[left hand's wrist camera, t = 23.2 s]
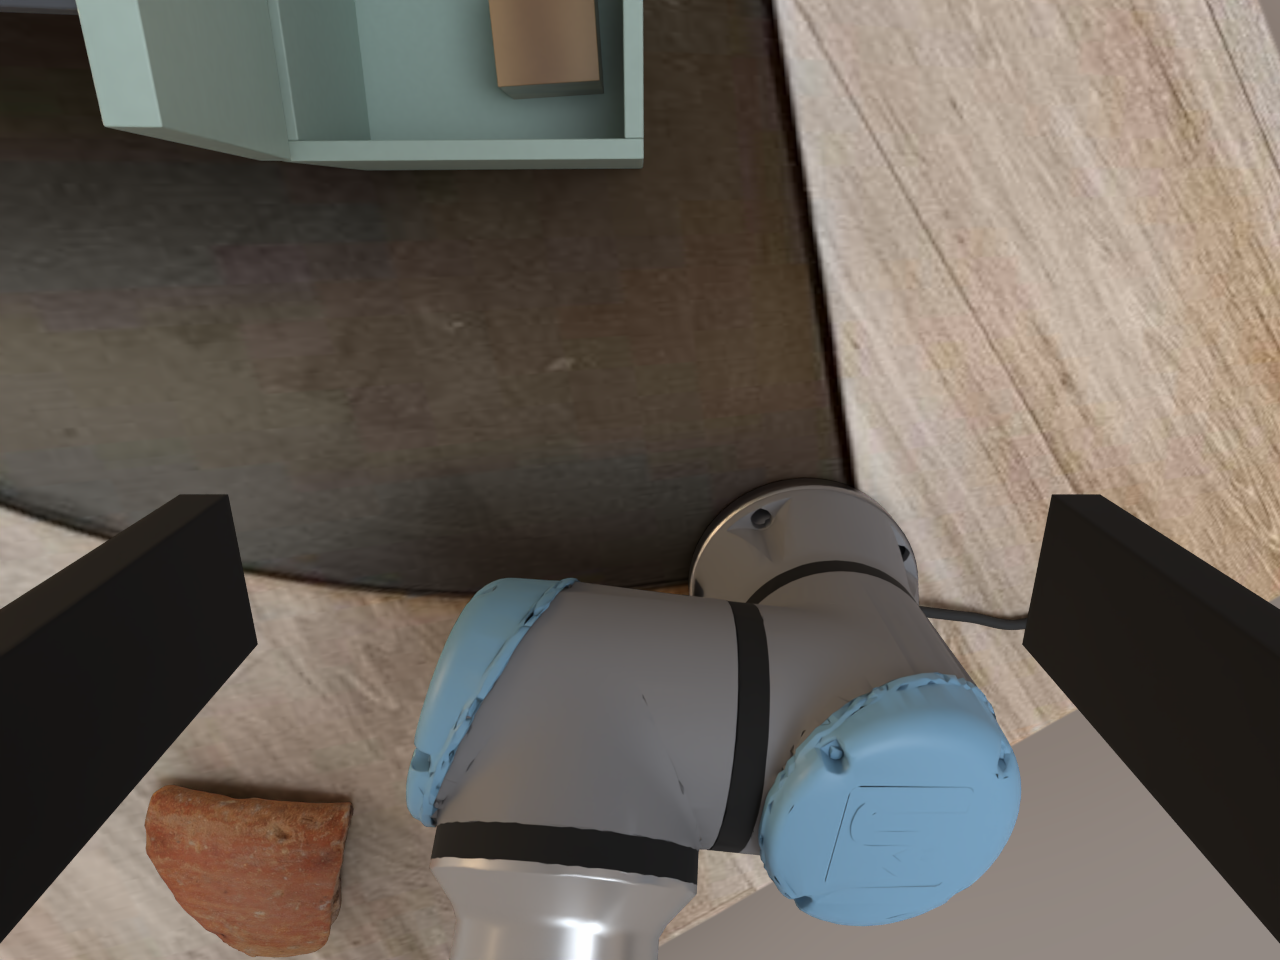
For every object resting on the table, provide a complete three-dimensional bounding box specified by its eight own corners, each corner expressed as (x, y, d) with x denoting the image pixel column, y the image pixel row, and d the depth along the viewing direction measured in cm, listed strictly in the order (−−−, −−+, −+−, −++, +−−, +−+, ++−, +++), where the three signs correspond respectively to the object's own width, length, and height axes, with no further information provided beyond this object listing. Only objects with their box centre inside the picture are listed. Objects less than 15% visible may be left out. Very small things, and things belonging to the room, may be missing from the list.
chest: (641, -85, 40) (642, -182, 30) (642, 168, 44) (643, 159, 34) (334, -82, 40) (230, -179, 30) (364, 170, 44) (282, 161, 34)
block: (597, -12, 40) (591, -40, 36) (604, 93, 42) (599, 80, 37) (502, -6, 40) (484, -33, 36) (513, 99, 42) (497, 86, 37)
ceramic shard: (134, 973, 59) (136, 799, 56) (192, 911, 65) (196, 752, 62) (316, 1015, 57) (328, 840, 54) (357, 947, 64) (370, 787, 61)
